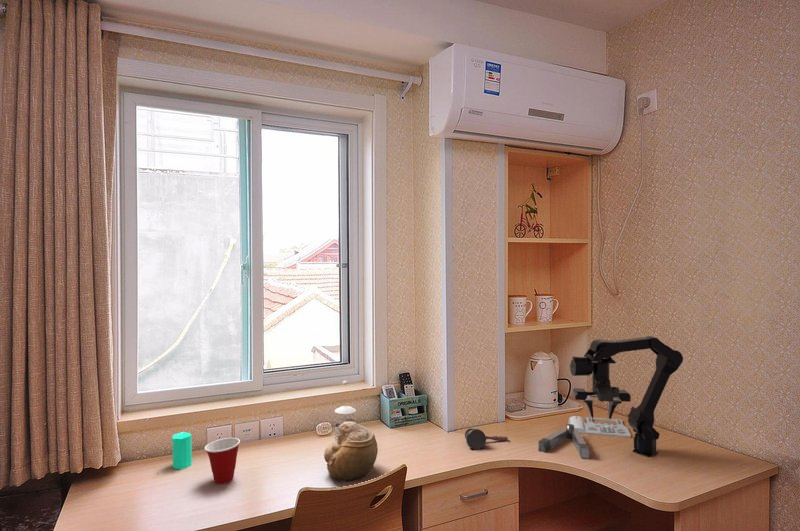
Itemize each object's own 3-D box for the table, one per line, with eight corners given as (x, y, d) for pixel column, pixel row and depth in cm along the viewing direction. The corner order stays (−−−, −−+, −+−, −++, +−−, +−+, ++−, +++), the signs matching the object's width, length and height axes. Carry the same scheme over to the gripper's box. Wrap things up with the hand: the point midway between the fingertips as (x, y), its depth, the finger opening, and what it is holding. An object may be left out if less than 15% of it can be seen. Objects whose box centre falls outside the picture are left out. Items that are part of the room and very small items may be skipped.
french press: (328, 450, 181) (327, 383, 180) (339, 439, 192) (339, 375, 192) (353, 453, 178) (353, 384, 178) (363, 441, 190) (362, 377, 189)
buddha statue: (332, 461, 171) (332, 411, 172) (380, 464, 170) (381, 414, 170) (315, 486, 152) (316, 430, 152) (371, 490, 150) (371, 433, 150)
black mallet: (465, 449, 180) (460, 444, 188) (513, 454, 181) (506, 448, 190) (467, 428, 181) (462, 424, 189) (514, 433, 182) (507, 428, 191)
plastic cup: (208, 474, 161) (207, 438, 161) (242, 471, 164) (241, 435, 164) (201, 489, 151) (201, 450, 151) (238, 485, 153) (238, 447, 153)
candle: (173, 463, 170) (173, 429, 170) (192, 460, 173) (191, 426, 172) (172, 470, 165) (171, 434, 165) (191, 467, 167) (190, 432, 167)
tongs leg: (571, 439, 189) (571, 430, 189) (578, 439, 189) (578, 430, 189) (581, 458, 171) (581, 447, 171) (589, 458, 171) (589, 448, 171)
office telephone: (568, 427, 198) (567, 412, 217) (568, 434, 198) (567, 418, 217) (631, 432, 191) (624, 416, 210) (631, 439, 191) (624, 422, 210)
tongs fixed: (565, 435, 194) (565, 422, 194) (575, 437, 191) (575, 425, 191) (538, 450, 179) (538, 437, 179) (549, 453, 176) (549, 440, 176)
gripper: (578, 380, 169) (578, 425, 169) (635, 381, 166) (635, 427, 167) (572, 372, 180) (572, 414, 180) (625, 374, 177) (626, 417, 178)
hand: (601, 418), depth 176 cm, fingers open, 6 cm apart
